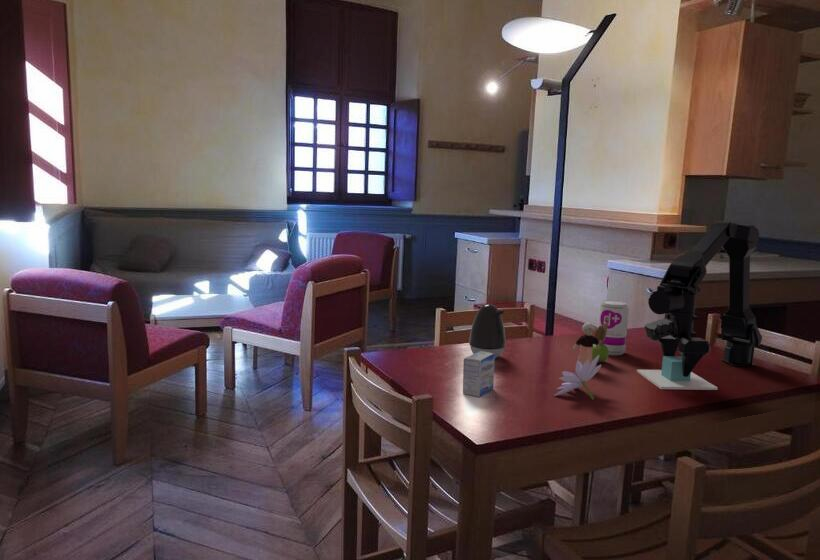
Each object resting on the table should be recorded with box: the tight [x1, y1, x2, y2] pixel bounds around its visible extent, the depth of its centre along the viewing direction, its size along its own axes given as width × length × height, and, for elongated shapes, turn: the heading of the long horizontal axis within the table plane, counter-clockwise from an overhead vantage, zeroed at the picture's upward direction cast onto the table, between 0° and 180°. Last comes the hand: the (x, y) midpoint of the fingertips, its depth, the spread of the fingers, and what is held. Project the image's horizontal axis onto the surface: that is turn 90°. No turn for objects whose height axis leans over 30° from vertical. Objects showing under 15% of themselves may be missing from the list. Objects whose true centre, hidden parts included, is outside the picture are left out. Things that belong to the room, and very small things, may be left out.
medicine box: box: [462, 351, 496, 398], centre depth 139 cm, size 8×4×9 cm, turn 148°
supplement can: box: [597, 299, 630, 357], centre depth 176 cm, size 8×8×15 cm
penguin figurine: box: [468, 303, 507, 359], centre depth 168 cm, size 10×10×15 cm
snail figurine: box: [592, 318, 610, 363], centre depth 166 cm, size 5×6×12 cm
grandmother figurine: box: [572, 321, 601, 365], centre depth 159 cm, size 8×4×13 cm, turn 112°
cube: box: [661, 355, 691, 381], centre depth 151 cm, size 5×5×5 cm
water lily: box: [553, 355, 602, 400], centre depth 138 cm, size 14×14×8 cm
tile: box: [636, 369, 719, 391], centre depth 152 cm, size 14×14×1 cm
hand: (676, 370), depth 152 cm, fingers open, 9 cm apart
